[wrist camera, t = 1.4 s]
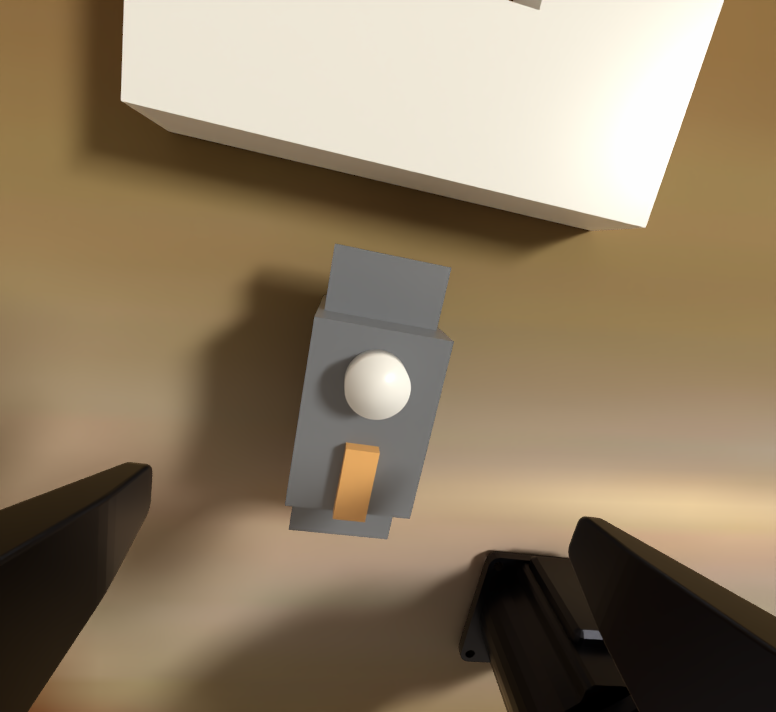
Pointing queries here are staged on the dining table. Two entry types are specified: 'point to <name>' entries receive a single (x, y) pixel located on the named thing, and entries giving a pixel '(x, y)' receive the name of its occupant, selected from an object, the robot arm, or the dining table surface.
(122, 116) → the dining table surface
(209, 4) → the white square base plate
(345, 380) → the servo
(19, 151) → the dining table surface
